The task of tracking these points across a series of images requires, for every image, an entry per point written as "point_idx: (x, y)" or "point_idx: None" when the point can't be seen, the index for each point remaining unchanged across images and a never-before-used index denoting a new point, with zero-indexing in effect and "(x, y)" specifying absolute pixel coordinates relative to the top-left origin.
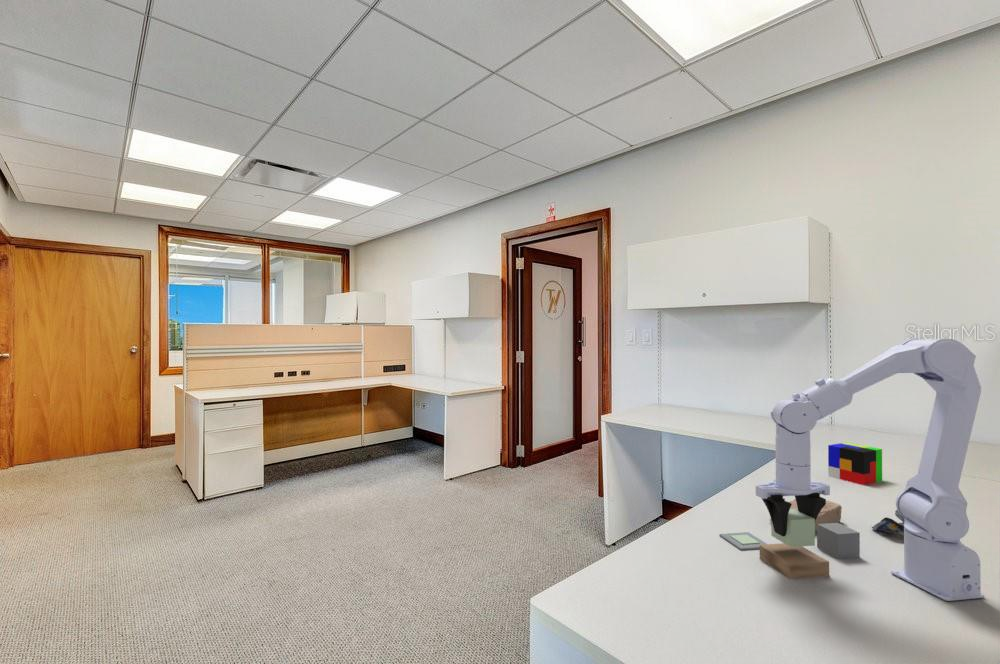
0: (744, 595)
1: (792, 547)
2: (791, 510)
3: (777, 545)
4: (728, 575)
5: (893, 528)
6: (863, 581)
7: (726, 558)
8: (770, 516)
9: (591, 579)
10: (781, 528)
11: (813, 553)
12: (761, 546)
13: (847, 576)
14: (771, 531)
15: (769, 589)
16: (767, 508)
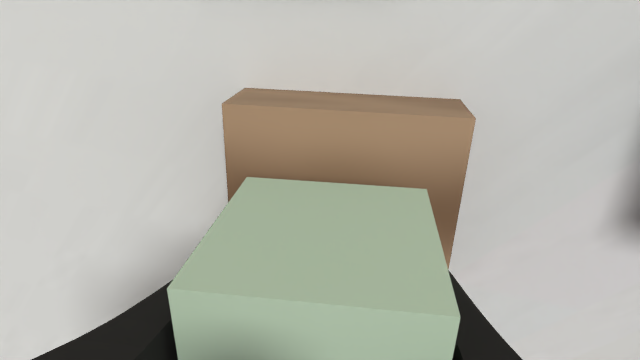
0: (29, 301)
1: (394, 170)
2: (390, 339)
3: (324, 132)
4: (25, 192)
5: None
6: (524, 336)
7: (76, 59)
8: (136, 306)
9: None
10: None
11: (445, 249)
12: (223, 119)
13: (503, 299)
14: (236, 191)
15: (128, 295)
16: (63, 350)
